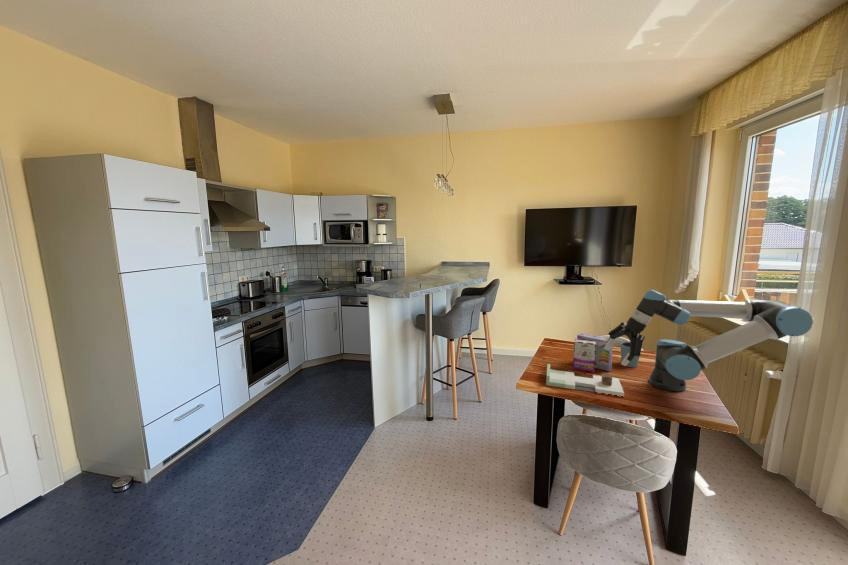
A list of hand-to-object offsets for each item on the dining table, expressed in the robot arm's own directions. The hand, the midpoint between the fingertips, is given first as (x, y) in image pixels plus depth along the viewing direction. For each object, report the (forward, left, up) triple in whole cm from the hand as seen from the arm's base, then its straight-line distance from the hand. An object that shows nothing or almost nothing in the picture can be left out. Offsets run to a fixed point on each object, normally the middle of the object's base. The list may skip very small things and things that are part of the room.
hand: (614, 357), depth 167 cm
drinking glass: (-13, -37, -16) cm, 42 cm away
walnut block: (+3, 0, -14) cm, 14 cm away
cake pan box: (+7, -27, -16) cm, 32 cm away
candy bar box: (+12, -20, -16) cm, 28 cm away
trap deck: (+13, 0, -16) cm, 20 cm away
